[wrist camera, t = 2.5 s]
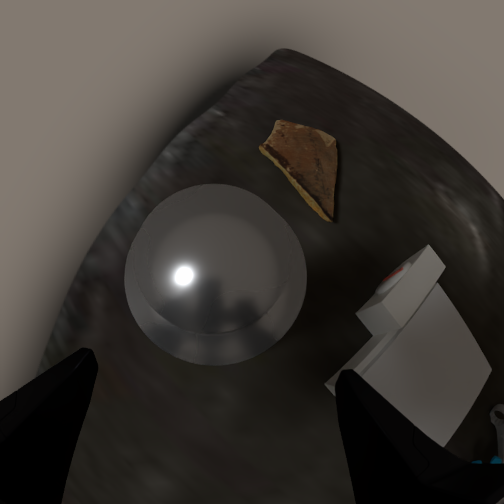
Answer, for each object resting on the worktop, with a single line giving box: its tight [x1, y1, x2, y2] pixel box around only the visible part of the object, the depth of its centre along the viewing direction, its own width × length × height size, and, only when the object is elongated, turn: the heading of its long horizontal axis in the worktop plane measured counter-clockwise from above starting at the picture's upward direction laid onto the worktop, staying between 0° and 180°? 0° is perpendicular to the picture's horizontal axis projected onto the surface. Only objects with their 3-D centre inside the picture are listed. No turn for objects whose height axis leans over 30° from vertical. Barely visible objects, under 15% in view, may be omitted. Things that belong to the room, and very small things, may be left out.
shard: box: [259, 120, 337, 222], centre depth 25 cm, size 11×8×2 cm
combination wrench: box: [490, 404, 504, 463], centre depth 12 cm, size 4×1×20 cm
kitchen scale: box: [325, 244, 492, 447], centre depth 17 cm, size 12×15×4 cm
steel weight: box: [124, 184, 307, 366], centre depth 13 cm, size 5×5×14 cm
